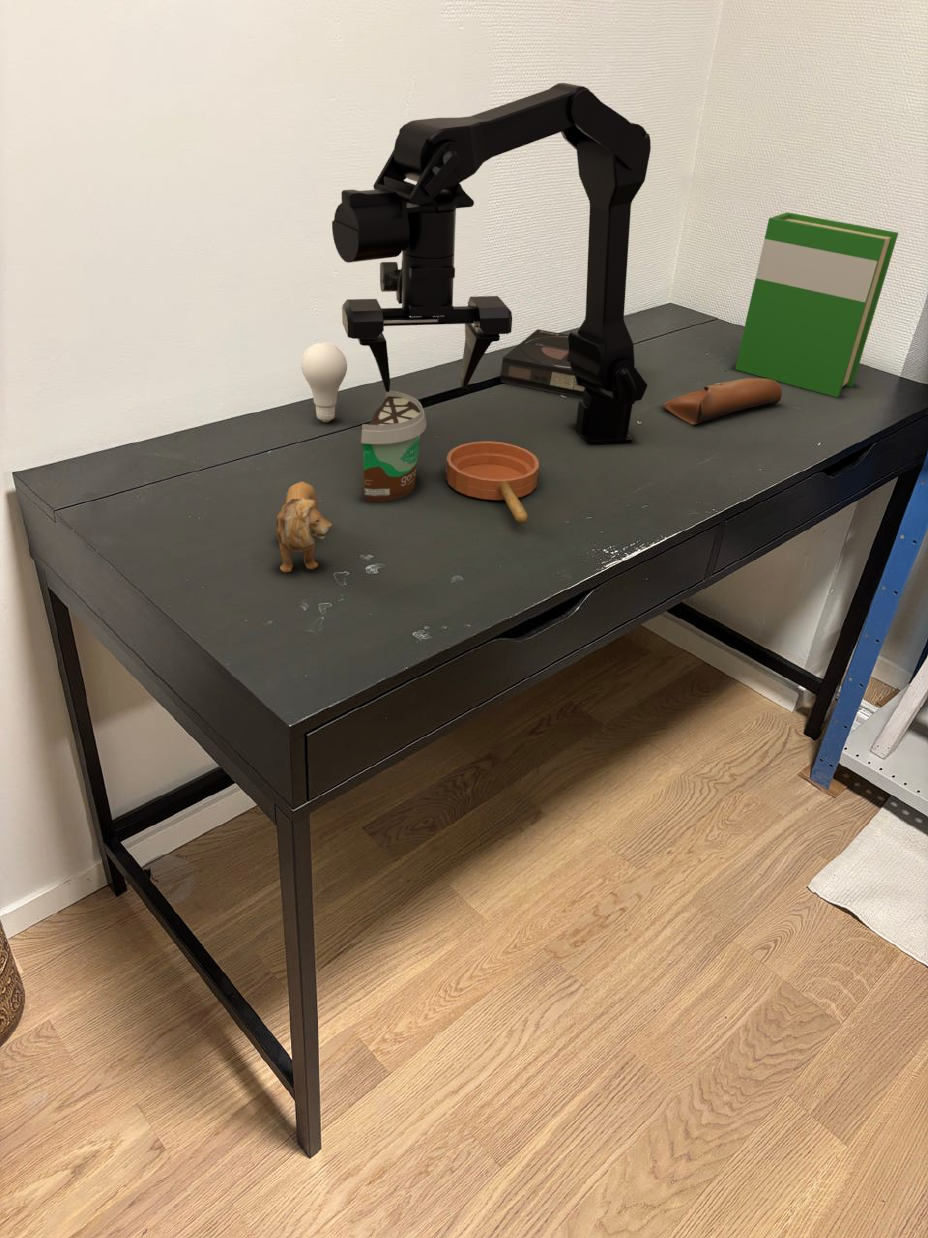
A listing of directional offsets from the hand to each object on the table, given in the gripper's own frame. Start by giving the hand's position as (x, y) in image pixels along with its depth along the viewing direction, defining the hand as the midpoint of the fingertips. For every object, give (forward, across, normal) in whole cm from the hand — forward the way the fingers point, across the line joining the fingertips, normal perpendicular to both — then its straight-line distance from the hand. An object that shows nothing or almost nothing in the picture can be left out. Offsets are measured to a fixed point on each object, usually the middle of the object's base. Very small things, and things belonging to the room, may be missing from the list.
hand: (425, 389), depth 112 cm
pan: (+12, -8, +2) cm, 14 cm away
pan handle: (+10, -8, +12) cm, 18 cm away
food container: (+12, +4, +2) cm, 12 cm away
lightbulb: (+12, +10, -19) cm, 24 cm away
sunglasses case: (+13, -50, -19) cm, 55 cm away
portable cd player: (+12, -30, -34) cm, 47 cm away
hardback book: (+13, -69, -30) cm, 76 cm away
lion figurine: (+11, +16, +17) cm, 26 cm away
